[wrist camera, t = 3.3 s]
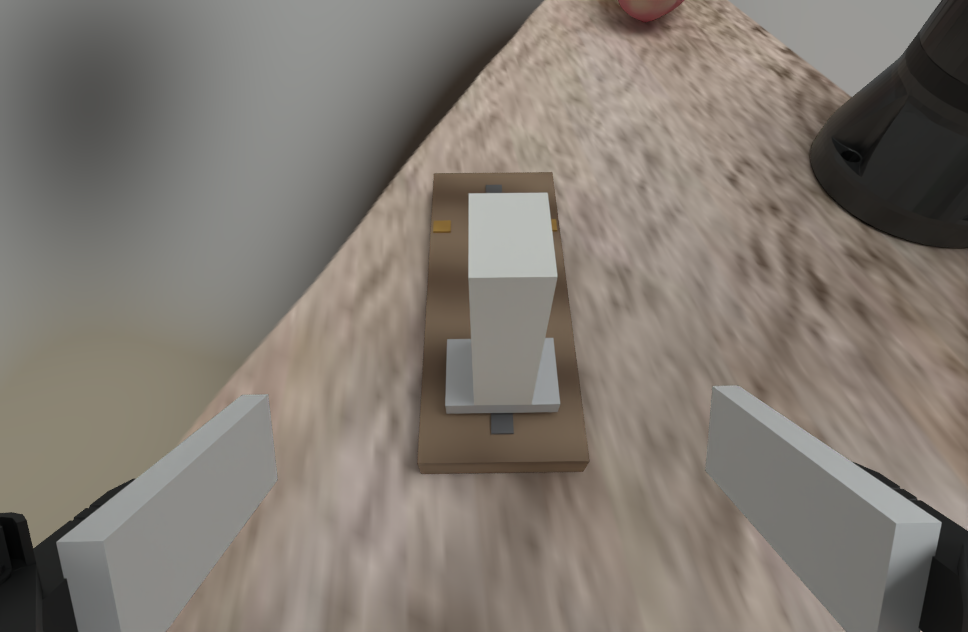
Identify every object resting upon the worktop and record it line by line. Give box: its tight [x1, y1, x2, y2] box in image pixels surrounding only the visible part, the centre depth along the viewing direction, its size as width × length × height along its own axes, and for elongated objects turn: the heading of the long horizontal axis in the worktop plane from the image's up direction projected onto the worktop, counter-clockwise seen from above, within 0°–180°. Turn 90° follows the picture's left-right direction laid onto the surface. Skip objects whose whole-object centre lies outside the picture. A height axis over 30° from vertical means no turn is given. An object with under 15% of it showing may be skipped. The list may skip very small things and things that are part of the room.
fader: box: [445, 193, 560, 414], centre depth 23 cm, size 4×6×12 cm, turn 91°
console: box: [417, 172, 589, 474], centre depth 33 cm, size 22×9×2 cm, turn 1°
